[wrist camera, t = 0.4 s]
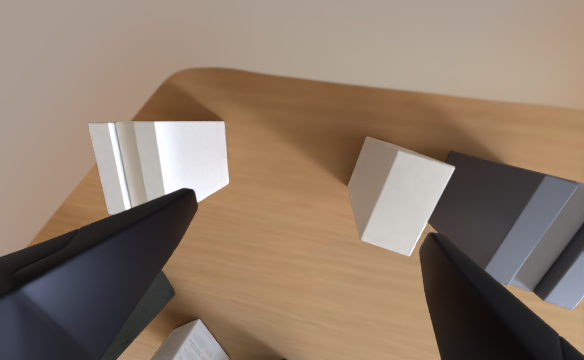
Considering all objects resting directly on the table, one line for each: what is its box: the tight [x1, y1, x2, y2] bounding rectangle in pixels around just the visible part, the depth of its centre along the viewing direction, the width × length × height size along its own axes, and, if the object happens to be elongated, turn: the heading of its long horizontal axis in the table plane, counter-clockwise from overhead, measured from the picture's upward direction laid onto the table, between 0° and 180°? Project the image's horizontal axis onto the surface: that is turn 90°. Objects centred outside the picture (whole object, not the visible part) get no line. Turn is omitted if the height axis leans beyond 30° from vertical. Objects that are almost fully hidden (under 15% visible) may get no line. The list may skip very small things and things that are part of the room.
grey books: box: [427, 151, 584, 310], centre depth 17 cm, size 7×5×10 cm
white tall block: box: [347, 136, 455, 256], centre depth 17 cm, size 6×3×11 cm, turn 164°
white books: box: [88, 121, 229, 214], centre depth 21 cm, size 7×5×10 cm
